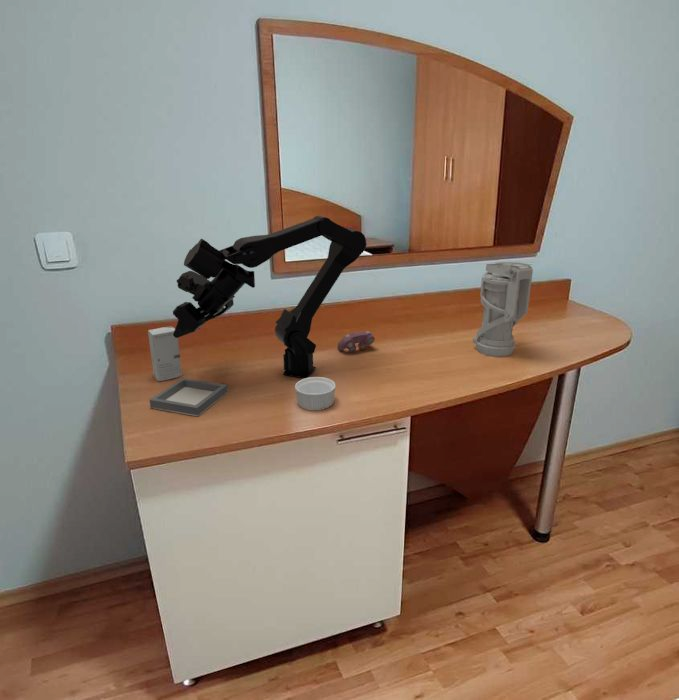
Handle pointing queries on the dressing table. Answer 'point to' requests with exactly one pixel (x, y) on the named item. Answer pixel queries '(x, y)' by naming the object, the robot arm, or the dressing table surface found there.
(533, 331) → the dressing table surface
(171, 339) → the skincare box
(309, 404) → the ramekin
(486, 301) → the lantern
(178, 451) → the dressing table surface
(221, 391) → the holder
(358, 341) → the video game controller
